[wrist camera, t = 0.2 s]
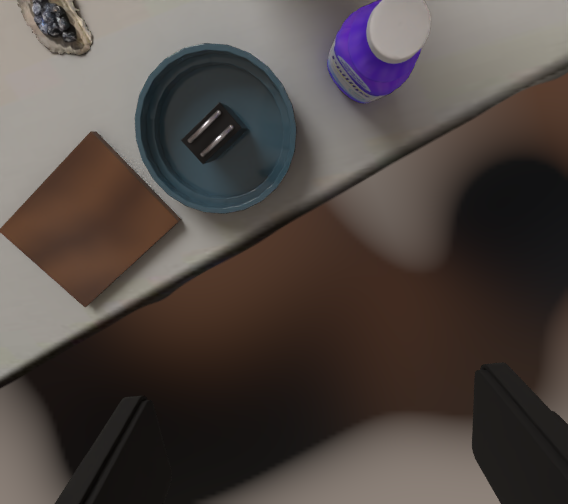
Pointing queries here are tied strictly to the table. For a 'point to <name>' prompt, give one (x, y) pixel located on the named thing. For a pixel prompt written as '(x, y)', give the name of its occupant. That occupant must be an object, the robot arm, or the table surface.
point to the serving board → (89, 220)
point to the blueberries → (57, 25)
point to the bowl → (195, 106)
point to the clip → (214, 133)
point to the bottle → (378, 48)
